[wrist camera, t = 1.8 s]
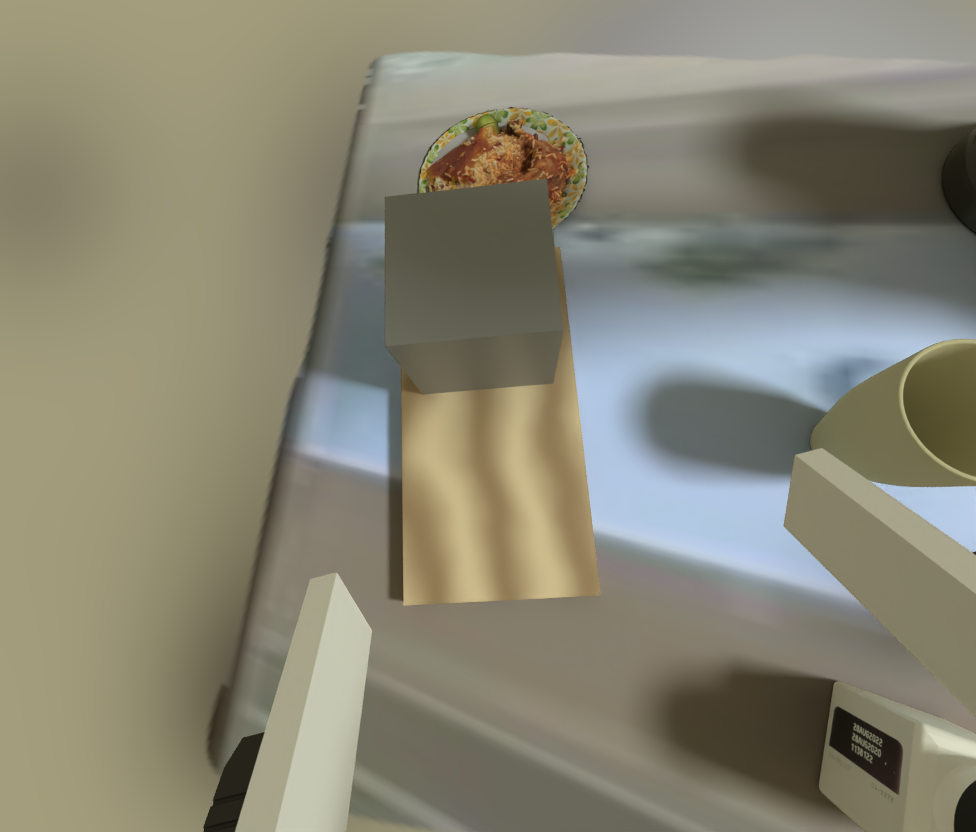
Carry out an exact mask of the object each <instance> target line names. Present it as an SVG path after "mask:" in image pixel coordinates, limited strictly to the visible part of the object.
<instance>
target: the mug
mask: <svg viewBox="0 0 976 832" xmlns="http://www.w3.org/2000/svg"><path fill="white" fill-rule="evenodd" d="M810 445H811V449H812V450H816V449H820V448H823V449H824V450H826V451H827V452H829V453H830V454H831V455H833V456H834V457H836V458H837V459H839V460H840V461H841V462H843V463H844V464H846V465H847V466H849V467H850V468H852V469H853V470H854V471H856V472H857V473H859V474H860V475H862V476H863V477H864V478H866V479H867V480H869V481H873V482H878V483H883V484H888V485H896V486H908V487H952V486H976V340H973V339H954V340H948V341H943V342H940V343H936V344H933V345H931V346H929V347H927V348H925V349H923V350H921V351H919V352H917V353H915V354H913V355H912V356H910V357H908V358H906V359H904V360H902V361H900V362H898V363H897V364H895V365H893V366H891V367H889V368H887V369H885V370H883V371H882V372H880V373H878V374H876V375H874V376H872V377H870V378H869V379H867V380H865V381H864V382H862V383H860V384H859V385H857V386H856V387H854V388H853V389H851V390H850V391H849V392H847V393H846V394H845V395H844V396H843V397H842V398H841V399H840V400H839V401H838V402H837V403H836V404H835V405H834V406H833V407H832V408H831V409H830V410H829V411H828V413H827V414H826V415H825V416H824V417H823V418H822V419H821V420H820V422H819V423H818V424H817V425H816V426H815V427H814V429H813V431H812V433H811V437H810Z"/></svg>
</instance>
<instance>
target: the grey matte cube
mask: <svg viewBox="0 0 976 832" xmlns="http://www.w3.org/2000/svg"><path fill="white" fill-rule="evenodd" d="M563 331H564V327H563V318H562V310H561V301H560V292H559V283H558V274H557V266H556V257H555V248H554V239H553V230H552V222H551V213H550V204H549V195H548V186H547V179H539V180H530V181H521V182H512V183H504V184H495V185H486V186H478V187H469V188H460V189H451V190H443V191H434V192H425V193H417V194H408V195H399V196H390V197H385V347H386V348H387V349H388V351H389V352H390V353H391V355H392V356H393V357H394V358H395V360H396V361H397V362H398V364H399V365H400V366H401V367H402V369H403V370H404V371H405V372H406V374H407V375H408V376H409V378H410V379H411V380H412V381H413V383H414V384H415V385H416V387H417V388H418V389H419V390H420V392H421V393H422V394H435V393H447V392H459V391H471V390H483V389H494V388H506V387H518V386H530V385H542V384H553V383H554V378H555V372H556V367H557V362H558V357H559V352H560V347H561V342H562V337H563Z"/></svg>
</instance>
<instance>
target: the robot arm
mask: <svg viewBox="0 0 976 832" xmlns="http://www.w3.org/2000/svg"><path fill="white" fill-rule="evenodd" d="M943 186H944V191H945V194H946V197H947V199H948V201H949V203H950V205H951V207H952V209H953V210H954V212H955V213H956V214H957V216H958V217H959V218H960V219H961V220H962V221H963V222H964V223H965V224H966V225H967V226H968V227H969V228H970V229H971V230H973V231H974V232H975V233H976V128H975V129H974V130H973V131H971V132H970V133H969V134H968V135H967V136H966V137H965V138H963V139H962V140H961V141H960V142H959V143H958V144H957V145H956V146H955V147H954V148H953V149H952V151H951V152H950V154H949V155H948V157H947V159H946V162H945V165H944V169H943ZM784 527H785V528H786V529H787V530H788V531H789V532H790V533H791V534H792V535H793V536H794V537H795V538H796V539H797V540H798V541H799V542H800V543H801V544H802V545H803V546H804V547H805V548H806V549H807V550H808V551H809V552H810V553H811V554H812V555H813V556H814V557H815V558H816V559H817V560H818V561H819V562H820V563H821V564H822V565H823V566H824V567H825V568H826V569H827V570H828V571H829V572H830V573H831V574H832V575H833V576H834V577H835V578H836V579H837V580H838V581H839V582H840V583H841V584H842V585H843V586H844V587H845V588H846V589H847V590H848V591H849V592H850V593H851V594H852V595H853V596H854V597H855V598H856V599H857V600H858V601H859V602H860V603H861V604H862V605H863V606H864V607H865V608H866V609H867V610H868V611H869V612H870V613H871V614H872V615H873V616H874V617H875V618H876V619H877V620H878V621H879V622H880V623H881V624H882V625H883V626H884V627H885V628H886V629H887V630H888V631H889V632H890V633H891V634H892V635H893V636H894V637H895V638H896V639H897V640H898V641H899V642H900V643H901V644H902V645H903V646H904V647H905V648H907V649H908V650H909V651H910V652H911V653H912V654H913V655H914V656H915V657H916V658H917V659H918V660H919V661H920V662H921V663H922V664H923V665H924V666H925V667H926V668H927V669H928V670H929V671H930V672H931V673H932V674H933V675H934V676H935V677H936V678H937V679H938V680H939V681H940V682H941V683H942V684H943V685H944V686H945V687H946V688H947V689H948V690H949V691H950V692H951V693H952V694H953V695H954V696H955V697H956V698H957V699H958V700H959V701H960V702H961V703H962V704H963V705H964V706H965V707H966V708H967V709H968V710H969V711H970V712H971V713H972V714H973V715H974V716H975V717H976V552H973V553H972V552H970V551H969V550H968V549H966V548H965V547H963V546H962V545H960V544H959V543H958V542H956V541H955V540H953V539H952V538H950V537H949V536H948V535H946V534H945V533H943V532H942V531H940V530H939V529H938V528H936V527H935V526H933V525H932V524H930V523H929V522H927V521H926V520H925V519H923V518H922V517H920V516H919V515H917V514H916V513H915V512H913V511H912V510H910V509H909V508H907V507H906V506H905V505H903V504H902V503H900V502H899V501H897V500H896V499H895V498H893V497H892V496H890V495H889V494H887V493H886V492H884V491H883V490H882V489H880V488H879V487H877V486H876V485H874V484H873V483H872V482H870V481H869V480H867V479H866V478H864V477H863V476H862V475H860V474H859V473H857V472H856V471H854V470H853V469H852V468H850V467H849V466H847V465H846V464H844V463H843V462H841V461H840V460H839V459H837V458H836V457H834V456H833V455H831V454H830V453H829V452H827V451H826V450H824V449H823V448H820V449H816V450H812V451H808V452H804V453H800V454H796V455H795V457H794V463H793V470H792V476H791V482H790V488H789V495H788V501H787V507H786V514H785V520H784ZM371 634H372V630H371V628H370V627H369V625H368V623H367V622H366V620H365V618H364V617H363V615H362V613H361V612H360V610H359V608H358V607H357V605H356V603H355V602H354V600H353V598H352V597H351V595H350V593H349V592H348V590H347V588H346V587H345V585H344V583H343V582H342V580H341V579H340V577H339V575H338V574H337V572H336V573H332V574H328V575H324V576H320V577H317V578H313V579H310V582H309V586H308V589H307V592H306V596H305V599H304V602H303V606H302V609H301V612H300V616H299V619H298V622H297V626H296V629H295V632H294V636H293V639H292V642H291V646H290V649H289V653H288V656H287V659H286V663H285V666H284V669H283V673H282V676H281V679H280V683H279V686H278V689H277V693H276V696H275V699H274V703H273V706H272V709H271V713H270V716H269V719H268V723H267V726H266V730H265V732H264V733H260V734H256V735H252V736H248V737H244V738H242V740H241V742H240V743H239V745H238V746H237V748H236V750H235V751H234V753H233V754H232V756H231V758H230V759H229V761H228V762H227V764H226V766H225V767H224V770H223V773H222V776H221V778H220V782H219V784H218V787H217V790H216V793H215V796H214V799H213V806H212V807H210V810H209V813H208V816H207V818H206V821H205V824H204V827H203V828H204V832H346V827H347V819H348V812H349V804H350V796H351V789H352V781H353V773H354V766H355V758H356V750H357V742H358V735H359V727H360V719H361V712H362V704H363V696H364V688H365V681H366V673H367V665H368V658H369V650H370V642H371Z"/></svg>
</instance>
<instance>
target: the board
mask: <svg viewBox="0 0 976 832" xmlns="http://www.w3.org/2000/svg"><path fill="white" fill-rule="evenodd" d="M554 248H555V257H556V266H557V274H558V283H559V292H560V301H561V310H562V318H563V327H564V331H563V337H562V342H561V347H560V352H559V357H558V362H557V367H556V372H555V378H554V383H553V384H542V385H530V386H518V387H506V388H494V389H483V390H471V391H459V392H447V393H435V394H422V393H421V392H420V390H419V389H418V388H417V387H416V385H415V384H414V383H413V381H412V380H411V379H410V378H409V376H408V375H407V374H406V372H405V371H404V370H403V369H402V367H401V405H402V501H403V596H404V605H422V604H441V603H461V602H480V601H500V600H519V599H539V598H559V597H578V596H598V595H601V594H600V586H599V577H598V569H597V560H596V552H595V543H594V535H593V526H592V517H591V509H590V500H589V492H588V483H587V475H586V466H585V458H584V449H583V441H582V432H581V424H580V415H579V406H578V398H577V389H576V381H575V372H574V364H573V355H572V347H571V338H570V330H569V321H568V313H567V304H566V296H565V287H564V278H563V270H562V261H561V253H560V247H554Z"/></svg>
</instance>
